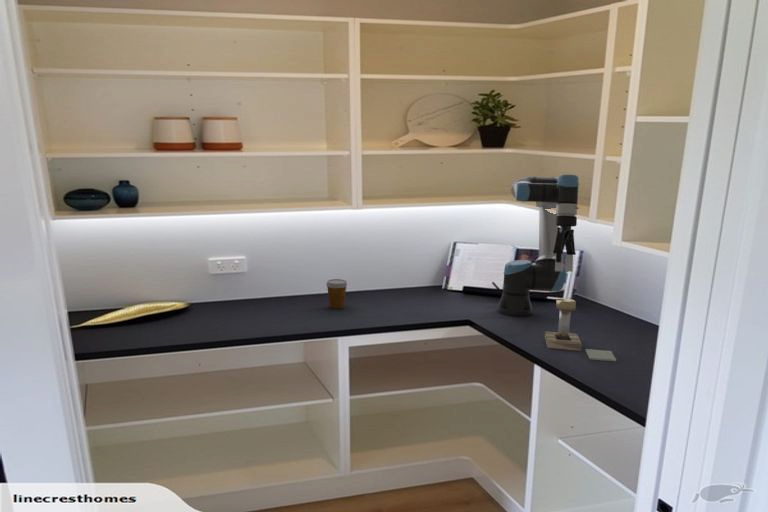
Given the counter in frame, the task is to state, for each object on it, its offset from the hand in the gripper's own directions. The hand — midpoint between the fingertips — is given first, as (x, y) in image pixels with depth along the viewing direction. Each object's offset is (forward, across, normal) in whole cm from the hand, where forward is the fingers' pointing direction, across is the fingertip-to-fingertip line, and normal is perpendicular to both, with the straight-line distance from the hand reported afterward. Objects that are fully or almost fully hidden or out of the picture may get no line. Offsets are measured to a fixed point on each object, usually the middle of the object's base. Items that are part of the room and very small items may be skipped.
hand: (563, 271), depth 214 cm
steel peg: (+28, +1, 0) cm, 28 cm away
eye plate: (+28, +1, 0) cm, 28 cm away
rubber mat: (+30, -3, -15) cm, 34 cm away
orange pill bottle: (+22, -13, +98) cm, 101 cm away
